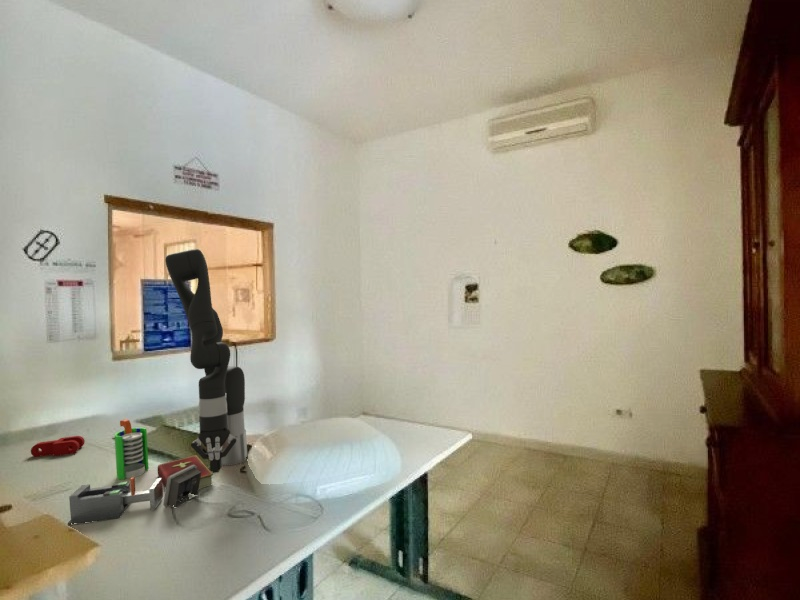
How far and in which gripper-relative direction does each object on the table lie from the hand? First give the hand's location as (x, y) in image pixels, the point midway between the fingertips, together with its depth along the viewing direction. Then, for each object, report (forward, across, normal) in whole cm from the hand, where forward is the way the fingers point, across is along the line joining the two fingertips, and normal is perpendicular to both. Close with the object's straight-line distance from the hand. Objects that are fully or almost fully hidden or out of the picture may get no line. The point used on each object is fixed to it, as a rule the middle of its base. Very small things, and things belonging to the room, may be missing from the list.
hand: (216, 471), depth 126 cm
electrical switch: (+8, +9, 0) cm, 12 cm away
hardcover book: (+8, +13, -15) cm, 22 cm away
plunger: (+7, +22, 0) cm, 23 cm away
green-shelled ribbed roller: (+8, +33, -26) cm, 43 cm away
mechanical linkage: (+8, +71, -57) cm, 92 cm away
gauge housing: (+8, +30, +1) cm, 31 cm away
